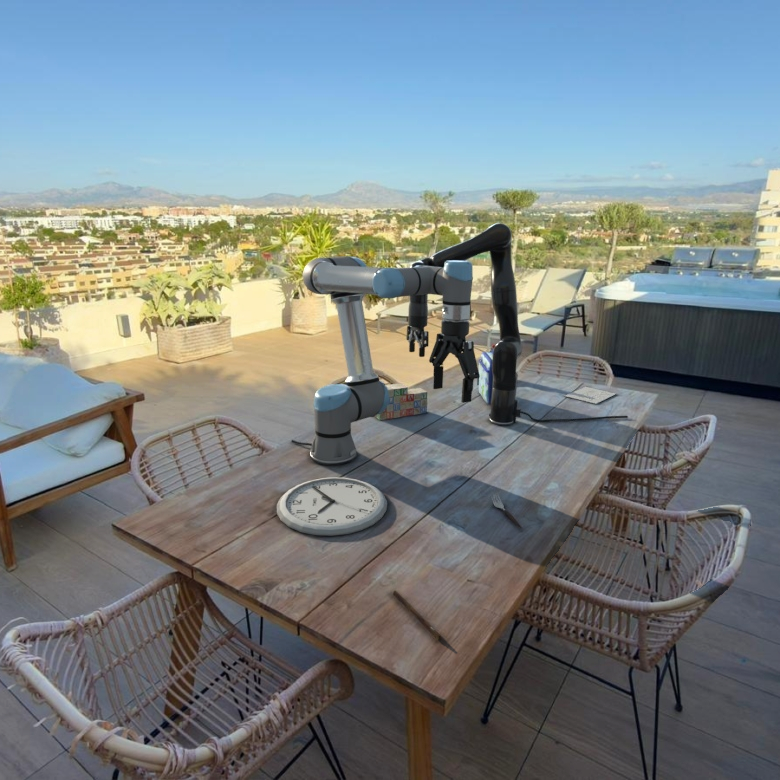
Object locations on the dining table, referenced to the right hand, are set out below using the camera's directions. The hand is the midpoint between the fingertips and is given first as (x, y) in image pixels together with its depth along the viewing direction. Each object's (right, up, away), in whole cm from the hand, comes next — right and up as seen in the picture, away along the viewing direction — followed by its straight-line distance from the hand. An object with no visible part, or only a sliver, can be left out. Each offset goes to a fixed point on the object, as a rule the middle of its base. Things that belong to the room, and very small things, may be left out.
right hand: (416, 354), depth 208 cm
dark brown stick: (-6, -59, -106) cm, 121 cm away
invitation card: (+82, -17, +33) cm, 90 cm away
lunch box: (+35, -18, +25) cm, 47 cm away
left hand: (+7, -16, -61) cm, 64 cm away
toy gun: (+40, -8, +60) cm, 72 cm away
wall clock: (-26, -46, -66) cm, 84 cm away
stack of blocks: (-7, -24, +5) cm, 25 cm away
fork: (+21, -48, -69) cm, 86 cm away
